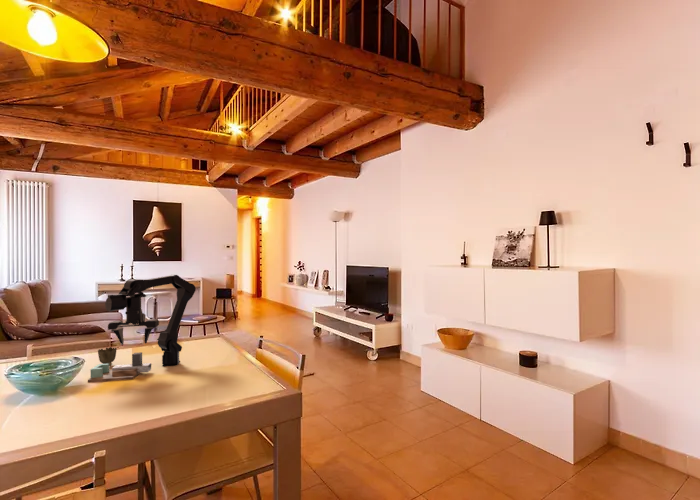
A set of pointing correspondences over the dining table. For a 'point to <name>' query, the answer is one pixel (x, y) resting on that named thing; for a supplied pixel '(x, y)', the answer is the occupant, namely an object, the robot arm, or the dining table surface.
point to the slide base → (116, 375)
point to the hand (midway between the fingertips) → (134, 344)
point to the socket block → (99, 370)
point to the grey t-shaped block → (135, 364)
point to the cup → (107, 355)
